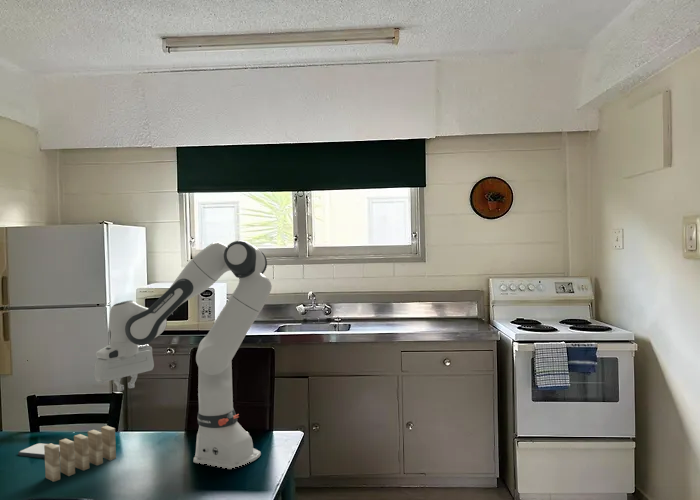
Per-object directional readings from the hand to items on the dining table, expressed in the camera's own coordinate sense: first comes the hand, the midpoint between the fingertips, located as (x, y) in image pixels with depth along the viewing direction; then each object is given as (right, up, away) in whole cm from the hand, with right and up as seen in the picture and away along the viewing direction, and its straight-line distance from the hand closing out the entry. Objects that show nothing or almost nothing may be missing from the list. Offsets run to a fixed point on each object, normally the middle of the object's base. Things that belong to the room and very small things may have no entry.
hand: (126, 389), depth 183 cm
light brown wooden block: (-6, -22, -9) cm, 24 cm away
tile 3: (-9, -22, -12) cm, 27 cm away
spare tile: (-14, -22, -20) cm, 33 cm away
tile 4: (-11, -22, -16) cm, 29 cm away
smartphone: (-28, -23, +1) cm, 36 cm away
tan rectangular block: (-4, -21, -5) cm, 22 cm away
